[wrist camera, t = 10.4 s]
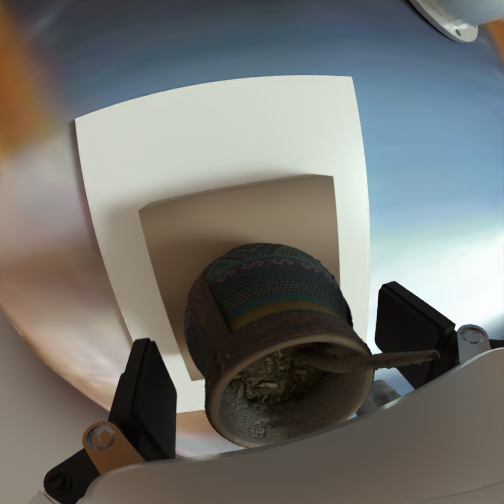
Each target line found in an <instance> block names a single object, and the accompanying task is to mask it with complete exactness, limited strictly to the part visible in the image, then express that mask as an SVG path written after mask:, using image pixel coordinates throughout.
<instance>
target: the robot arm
mask: <svg viewBox="0 0 504 504" xmlns="http://www.w3.org/2000/svg"><path fill="white" fill-rule="evenodd" d="M409 1H410V2H411V3H412V4H413V5H414V7H415V8H416V9H417V10H418V11H419V12H420V13H421V14H422V15H423V16H424V17H425V18H426V19H427V20H428V21H429V22H430V23H431V24H432V25H433V26H434V27H435V28H437V29H438V30H439V31H440V32H441V33H443V34H444V35H446V36H447V37H449V38H450V39H452V40H454V41H456V42H460V43H468V42H471V41H474V40H475V39H476V37H477V32H478V27H477V25H480V24H484V23H488V22H492V21H496V20H501V19H504V0H409ZM455 325H456V324H455V323H453V322H452V321H451V320H449V319H448V318H447V317H445V316H444V315H442V314H441V313H440V312H438V311H437V310H436V309H434V308H433V307H431V306H430V305H429V304H427V303H426V302H424V301H423V300H422V299H420V298H419V297H417V296H416V295H414V294H413V293H412V292H410V291H409V290H407V289H406V288H404V287H403V286H401V285H400V284H399V283H397V282H395V281H392V282H389V283H386V284H383V285H382V287H381V289H379V293H378V308H377V320H376V330H375V343H376V345H377V347H378V348H379V349H380V350H381V351H382V352H383V353H385V354H386V353H397V352H409V351H411V352H417V351H429V350H436V351H437V352H438V353H439V354H440V359H434V360H431V361H425V362H422V363H421V365H419V364H412V363H413V362H412V363H411V364H410V365H409V366H398V367H396V368H397V369H398V370H399V372H400V373H401V374H402V375H403V376H404V377H405V378H406V380H407V381H408V382H409V383H410V384H411V385H412V386H413V388H414V389H415V390H414V391H412V392H410V393H408V394H406V395H404V396H402V397H400V398H398V399H396V400H394V401H392V402H390V403H387V404H385V405H383V406H381V407H379V408H376V409H374V410H372V411H369V412H367V413H365V414H362V415H360V416H357V417H355V418H352V419H349V420H347V421H344V422H341V423H339V424H336V425H333V426H330V427H327V428H324V429H321V430H318V431H315V432H312V433H308V434H305V435H302V436H298V437H295V438H291V439H287V440H283V441H279V442H275V443H271V444H267V445H262V446H258V447H253V448H248V449H243V450H237V451H231V452H225V453H218V454H212V455H204V456H196V457H187V458H177V459H175V443H176V410H177V391H176V388H175V386H174V383H173V381H172V379H171V377H170V375H169V372H168V370H167V368H166V366H165V363H164V361H163V359H162V356H161V354H160V351H159V349H158V347H157V344H156V342H155V341H154V340H153V341H151V340H150V338H142V339H136V340H135V341H134V343H133V346H132V349H131V353H130V356H129V359H128V362H127V365H126V369H125V372H124V373H122V374H121V376H120V379H119V382H118V386H117V389H116V393H115V396H114V400H113V403H112V407H111V411H110V414H109V418H108V422H105V421H102V422H97V423H95V424H93V425H91V426H90V427H89V428H88V429H87V430H86V431H85V432H84V435H83V440H82V442H83V446H84V448H83V449H82V450H80V451H79V452H77V453H76V454H74V455H73V456H71V457H70V458H68V459H67V460H65V461H64V462H62V463H60V464H59V465H57V466H56V467H54V468H53V469H51V470H50V471H49V472H48V473H47V474H46V476H45V479H44V488H45V490H44V492H41V491H39V492H38V493H37V494H36V495H35V496H34V497H33V498H32V500H31V501H30V502H29V503H28V504H504V340H492V339H488V335H487V333H486V331H485V330H484V329H483V328H481V327H479V326H477V325H472V324H468V325H463V326H461V327H460V328H459V329H458V331H455V330H454V329H455Z"/></svg>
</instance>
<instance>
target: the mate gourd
mask: <svg viewBox="0 0 504 504" xmlns="http://www.w3.org/2000/svg"><path fill="white" fill-rule="evenodd" d="M351 314H352V313H351V309H350V307H349V305H348V303H347V301H346V300H345V298H344V296H343V294H342V291H341V289H340V287H339V285H338V283H337V282H336V280H335V277H334V276H333V275H332V274H331V273H330V272H329V271H328V269H326V268H325V267H324V266H323V265H322V264H321V262H320V260H318V259H315V258H314V257H313V256H311V255H309V254H307V253H306V252H303V251H301V250H299V249H297V248H295V247H290V246H286V245H282V244H273V243H252V244H245V245H242V246H239V247H236V248H234V249H232V250H230V251H229V252H227V253H226V254H225V255H223V256H221V257H219V258H218V259H216V260H215V261H213V262H212V263H210V264H209V266H207V267H206V268H205V269H204V270H203V271H202V273H201V274H200V275H199V277H198V278H197V279H196V280H195V281H194V283H193V285H192V286H191V288H190V291H189V292H188V300H187V306H186V310H185V316H184V334H183V335H184V336H185V338H184V340H185V341H186V344H187V347H188V350H189V354H190V356H191V358H192V361H193V362H194V364H195V366H196V368H197V369H198V370H199V371H200V373H201V374H202V375H203V377H204V378H205V386H204V387H205V401H204V403H205V405H204V408H205V410H206V411H205V413H206V415H207V416H206V417H207V418H208V420H209V423H210V424H211V426H212V427H213V429H215V430H216V432H217V433H218V434H220V435H221V436H222V437H224V438H225V439H227V440H228V441H230V442H232V443H234V444H236V445H239V446H243V447H246V448H253V447H258V446H262V445H267V444H271V443H275V442H279V441H283V440H287V439H291V438H295V437H298V436H302V435H305V434H308V433H312V432H315V431H318V430H321V429H324V428H327V427H330V426H333V425H336V424H339V423H341V422H344V421H347V420H348V419H349V418H350V417H351V416H352V415H353V414H354V413H355V412H356V411H357V410H358V408H359V407H360V406H361V404H362V403H363V401H364V400H365V398H366V396H367V394H368V392H369V390H370V388H371V386H372V383H373V380H374V373H375V370H378V368H380V369H381V368H388V369H390V368H393V367H394V368H396V367H398V366H409V365H410V364H411V363H412V362H413V363H412V364H419V365H421V363H422V362H425V361H431V360H434V359H440V354H439V353H438V352H437V351H436V350H429V351H417V352H411V351H409V352H397V353H386V354H385V353H380V354H374V355H372V353H371V351H370V349H369V348H368V346H367V344H366V343H365V342H364V341H363V340H362V339H361V338H360V337H359V336H358V335H357V333H356V332H355V331H354V329H353V325H354V324H353V322H352V319H353V317H352V315H351Z"/></svg>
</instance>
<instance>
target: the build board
mask: <svg viewBox="0 0 504 504" xmlns="http://www.w3.org/2000/svg"><path fill="white" fill-rule="evenodd" d="M75 122H76V132H77V140H78V148H79V155H80V162H81V168H82V174H83V179H84V185H85V190H86V195H87V200H88V204H89V209H90V213H91V217H92V221H93V225H94V229H95V233H96V237H97V240H98V244H99V248H100V251H101V254H102V258H103V261H104V264H105V268H106V271H107V274H108V277H109V280H110V283H111V286H112V289H113V291H114V294H115V297H116V300H117V302H118V305H119V308H120V310H121V313H122V316H123V318H124V321H125V323H126V326H127V328H128V330H129V333H130V335H131V338H132V340H133V342H134V341H135V340H136V339H142V338H150V340H151V341H153V340H154V341H155V342H156V344H157V347H158V349H159V351H160V354H161V356H162V359H163V361H164V363H165V366H166V368H167V370H168V372H169V375H170V377H171V379H172V381H173V383H174V386H175V388H176V391H177V410H176V413H180V412H189V411H196V410H204V409H205V408H204V405H205V403H204V401H205V387H204V386H205V379H203V380H196V381H191V379H190V376H189V374H188V371H187V369H186V366H185V363H184V361H183V358H182V356H181V353H180V350H179V348H178V345H177V342H176V339H175V337H174V334H173V331H172V328H171V325H170V322H169V319H168V316H167V313H166V310H165V307H164V304H163V301H162V298H161V295H160V291H159V288H158V285H157V281H156V278H155V275H154V271H153V268H152V264H151V260H150V257H149V253H148V249H147V245H146V241H145V237H144V233H143V229H142V225H141V221H140V217H139V212H138V210H140V209H141V208H143V207H144V206H145V205H147V204H148V203H150V202H155V201H159V200H164V199H168V198H173V197H177V196H182V195H187V194H192V193H196V192H201V191H207V190H212V189H217V188H223V187H228V186H234V185H239V184H245V183H251V182H258V181H264V180H271V179H277V178H284V177H292V176H299V175H307V174H319V175H328V176H333V178H334V188H335V199H336V210H337V224H338V239H339V260H340V289H341V291H342V294H343V296H344V298H345V300H346V301H347V303H348V305H349V307H350V309H351V313H352V314H351V315H352V317H353V319H352V322H353V324H354V325H353V329H354V331H355V332H356V333H357V335H358V336H359V337H360V338H361V339H362V340H363V341H364V342H365V343H366V336H367V324H368V309H369V288H370V225H369V204H368V189H367V177H366V166H365V157H364V148H363V140H362V133H361V126H360V119H359V113H358V107H357V102H356V96H355V91H354V86H353V81H352V77H344V76H320V75H291V76H268V77H254V78H243V79H233V80H225V81H218V82H211V83H204V84H198V85H193V86H187V87H182V88H177V89H172V90H168V91H163V92H159V93H155V94H151V95H147V96H143V97H139V98H136V99H132V100H129V101H125V102H122V103H119V104H115V105H112V106H109V107H106V108H103V109H100V110H97V111H95V112H92V113H89V114H86V115H84V116H81V117H79V118H76V119H75Z"/></svg>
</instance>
